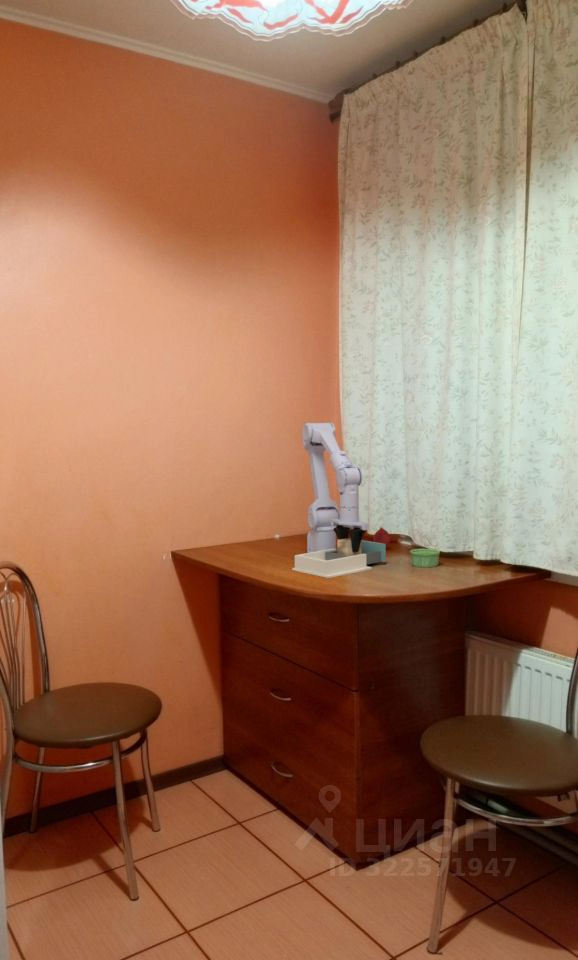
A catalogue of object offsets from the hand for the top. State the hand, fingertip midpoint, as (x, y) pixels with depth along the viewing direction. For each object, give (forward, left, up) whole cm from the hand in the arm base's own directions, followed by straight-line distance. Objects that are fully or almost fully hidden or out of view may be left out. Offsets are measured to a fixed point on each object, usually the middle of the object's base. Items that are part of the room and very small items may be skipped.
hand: (349, 550), depth 230 cm
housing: (0, -8, -5) cm, 9 cm away
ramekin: (+15, +17, -5) cm, 24 cm away
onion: (-12, +27, -5) cm, 30 cm away
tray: (0, +2, -4) cm, 4 cm away
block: (0, 0, -2) cm, 2 cm away
